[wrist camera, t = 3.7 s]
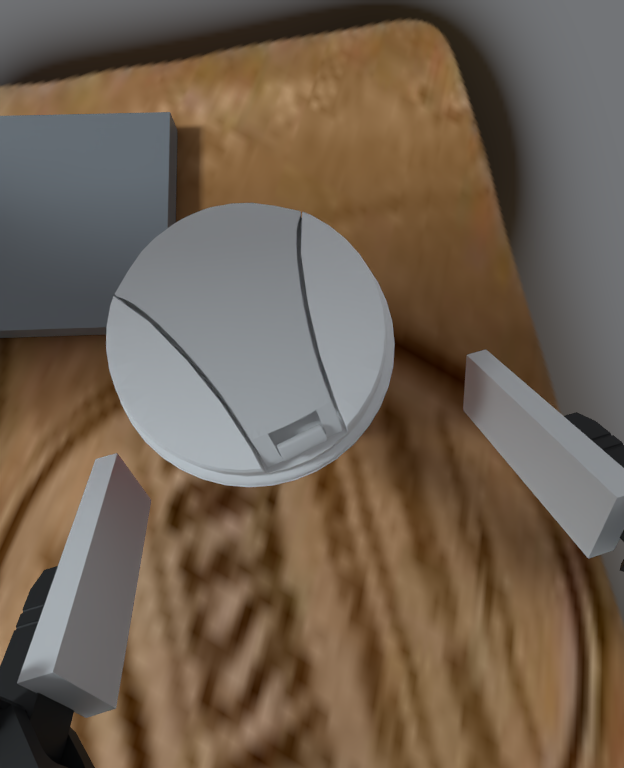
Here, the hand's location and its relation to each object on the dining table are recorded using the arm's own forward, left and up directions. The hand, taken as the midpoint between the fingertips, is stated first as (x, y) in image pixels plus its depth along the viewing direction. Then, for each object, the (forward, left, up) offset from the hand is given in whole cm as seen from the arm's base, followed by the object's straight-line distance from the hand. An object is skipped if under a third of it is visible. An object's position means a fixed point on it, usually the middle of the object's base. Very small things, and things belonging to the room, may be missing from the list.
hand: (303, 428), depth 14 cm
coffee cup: (-1, +3, -10) cm, 11 cm away
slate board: (-17, +15, -10) cm, 25 cm away
